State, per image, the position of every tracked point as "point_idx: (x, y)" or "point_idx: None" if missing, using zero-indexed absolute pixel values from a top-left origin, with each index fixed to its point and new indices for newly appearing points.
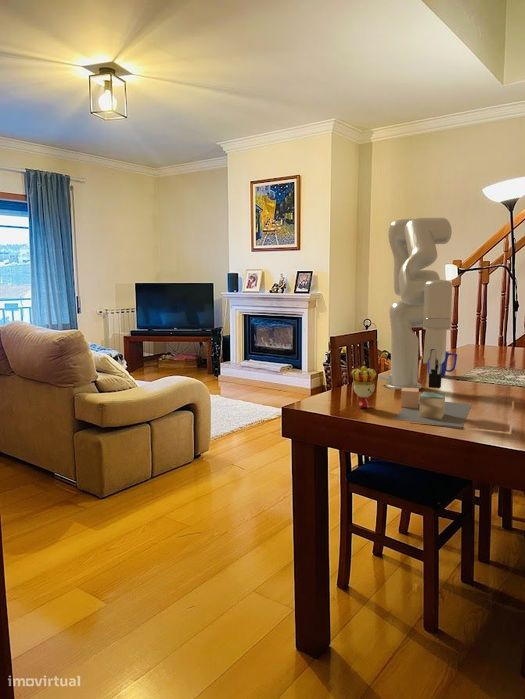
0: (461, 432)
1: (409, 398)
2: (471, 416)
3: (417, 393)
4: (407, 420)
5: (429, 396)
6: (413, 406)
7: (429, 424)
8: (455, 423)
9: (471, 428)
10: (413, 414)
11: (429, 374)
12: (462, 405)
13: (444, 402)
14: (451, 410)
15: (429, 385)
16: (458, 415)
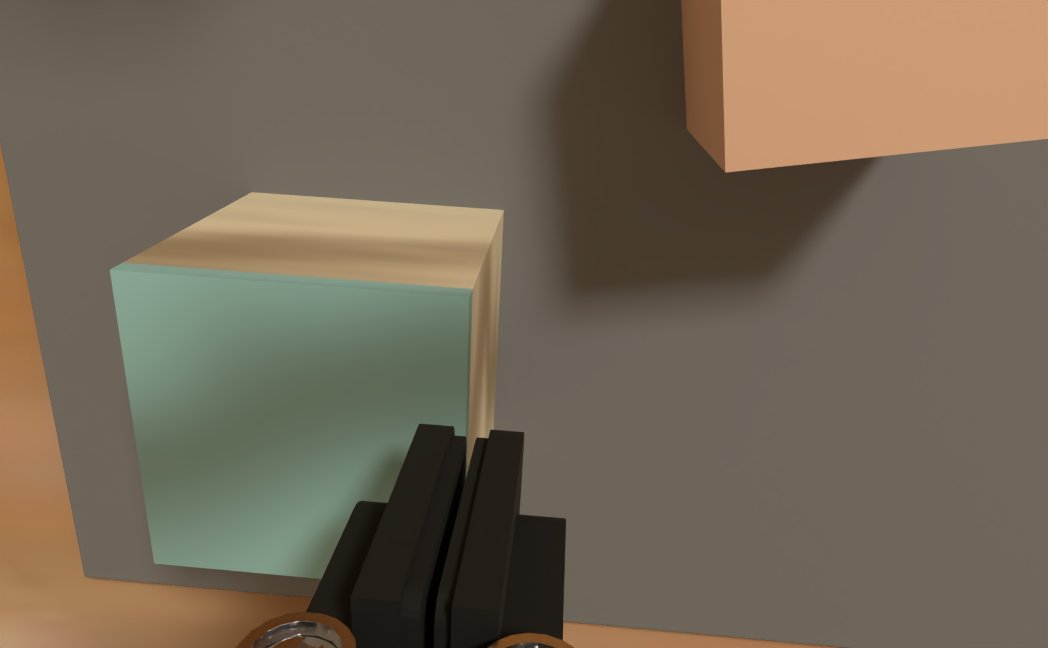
0: (4, 557)
1: (699, 3)
2: (580, 633)
3: (716, 148)
4: (5, 83)
5: (140, 408)
6: (687, 66)
7: (41, 315)
8: None
9: (168, 622)
10: (317, 114)
11: (357, 596)
12: (957, 586)
13: None
14: (679, 492)
15: (418, 448)
16: None
